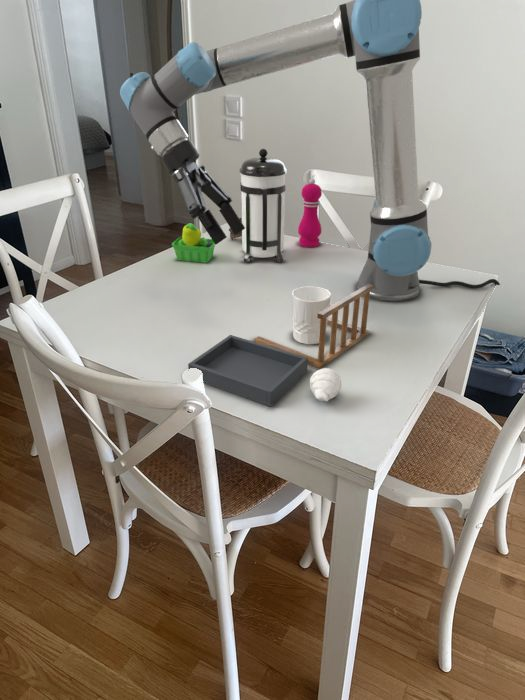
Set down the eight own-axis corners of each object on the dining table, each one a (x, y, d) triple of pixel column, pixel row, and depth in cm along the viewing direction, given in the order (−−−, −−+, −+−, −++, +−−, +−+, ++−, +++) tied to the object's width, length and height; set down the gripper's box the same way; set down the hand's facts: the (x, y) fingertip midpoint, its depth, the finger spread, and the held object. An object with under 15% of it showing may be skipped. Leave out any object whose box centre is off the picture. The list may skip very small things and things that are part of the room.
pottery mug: (263, 246, 167) (250, 225, 162) (236, 257, 171) (223, 237, 166) (265, 226, 176) (253, 205, 171) (240, 236, 179) (228, 217, 174)
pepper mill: (324, 246, 166) (328, 180, 156) (302, 248, 164) (305, 181, 154) (315, 239, 172) (319, 175, 162) (294, 241, 170) (296, 176, 160)
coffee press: (224, 256, 157) (220, 148, 143) (264, 245, 167) (264, 142, 152) (264, 272, 146) (265, 157, 132) (304, 259, 156) (309, 150, 141)
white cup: (303, 325, 118) (304, 283, 113) (334, 335, 114) (337, 291, 109) (283, 339, 113) (284, 295, 108) (315, 349, 109) (318, 304, 104)
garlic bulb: (305, 409, 91) (306, 382, 88) (310, 390, 96) (311, 364, 93) (338, 413, 90) (340, 386, 87) (340, 393, 95) (343, 367, 92)
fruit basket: (218, 256, 158) (216, 217, 152) (208, 266, 150) (206, 226, 145) (181, 253, 160) (178, 215, 155) (170, 263, 153) (167, 223, 147)
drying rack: (305, 313, 124) (308, 266, 118) (368, 334, 115) (374, 285, 109) (254, 342, 111) (254, 292, 106) (319, 368, 102) (323, 315, 97)
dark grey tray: (307, 371, 101) (308, 357, 100) (270, 406, 91) (270, 392, 90) (230, 347, 109) (230, 334, 108) (188, 377, 99) (187, 363, 98)
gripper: (184, 158, 125) (234, 236, 128) (134, 160, 102) (197, 255, 106) (208, 138, 122) (259, 219, 125) (163, 136, 99) (227, 235, 103)
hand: (231, 236), depth 116 cm, fingers open, 13 cm apart
